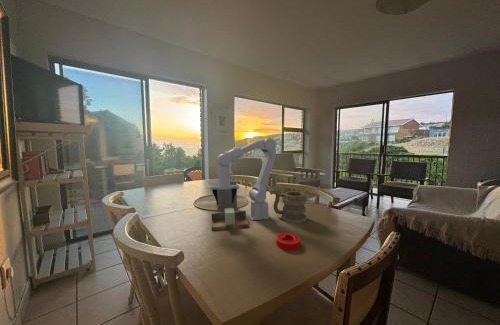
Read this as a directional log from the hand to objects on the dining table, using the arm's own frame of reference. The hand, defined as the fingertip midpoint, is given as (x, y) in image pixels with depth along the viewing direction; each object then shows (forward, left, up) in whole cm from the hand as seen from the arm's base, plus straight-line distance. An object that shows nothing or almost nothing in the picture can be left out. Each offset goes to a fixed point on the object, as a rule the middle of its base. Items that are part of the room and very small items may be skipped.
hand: (224, 203), depth 104 cm
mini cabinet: (-2, +3, -9) cm, 10 cm away
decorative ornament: (-24, +27, -11) cm, 38 cm away
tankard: (-34, 0, -11) cm, 36 cm away
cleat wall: (-2, +2, -10) cm, 11 cm away
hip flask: (-2, -17, -11) cm, 20 cm away
